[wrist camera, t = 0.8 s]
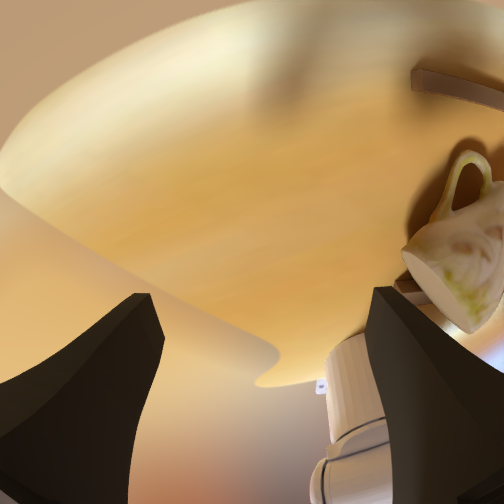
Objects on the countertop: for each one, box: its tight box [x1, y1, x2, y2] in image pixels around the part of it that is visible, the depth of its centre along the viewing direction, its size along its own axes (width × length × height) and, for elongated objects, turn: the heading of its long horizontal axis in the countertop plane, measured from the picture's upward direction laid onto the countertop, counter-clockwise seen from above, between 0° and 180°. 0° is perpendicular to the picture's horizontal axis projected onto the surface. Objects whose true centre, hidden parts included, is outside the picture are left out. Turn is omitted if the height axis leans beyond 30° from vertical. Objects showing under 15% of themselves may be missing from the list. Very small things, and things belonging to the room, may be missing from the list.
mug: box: [401, 151, 504, 334], centre depth 14 cm, size 8×10×10 cm
